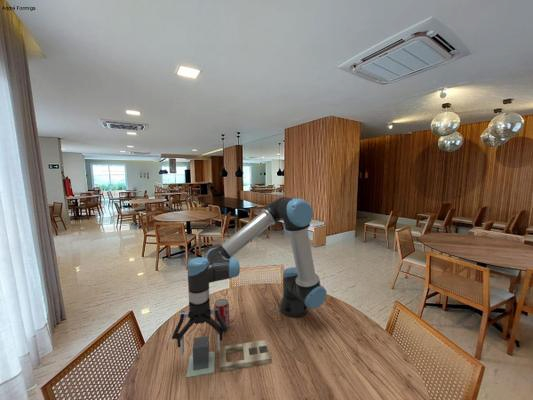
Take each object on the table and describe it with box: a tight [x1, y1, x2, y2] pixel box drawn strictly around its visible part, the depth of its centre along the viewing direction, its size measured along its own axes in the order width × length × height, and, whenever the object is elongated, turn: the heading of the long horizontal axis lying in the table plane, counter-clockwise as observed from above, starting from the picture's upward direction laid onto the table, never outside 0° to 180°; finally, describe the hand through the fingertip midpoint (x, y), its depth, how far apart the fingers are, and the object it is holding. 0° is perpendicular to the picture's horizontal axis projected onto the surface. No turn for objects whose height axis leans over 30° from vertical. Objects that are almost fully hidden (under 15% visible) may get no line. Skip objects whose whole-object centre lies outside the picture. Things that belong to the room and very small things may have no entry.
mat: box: [185, 351, 216, 379], centre depth 85 cm, size 10×10×1 cm
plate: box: [219, 339, 272, 373], centre depth 88 cm, size 20×10×2 cm, turn 102°
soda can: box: [213, 298, 231, 330], centre depth 106 cm, size 7×7×13 cm
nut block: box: [192, 335, 210, 371], centre depth 85 cm, size 6×6×9 cm
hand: (201, 350), depth 85 cm, fingers open, 13 cm apart
